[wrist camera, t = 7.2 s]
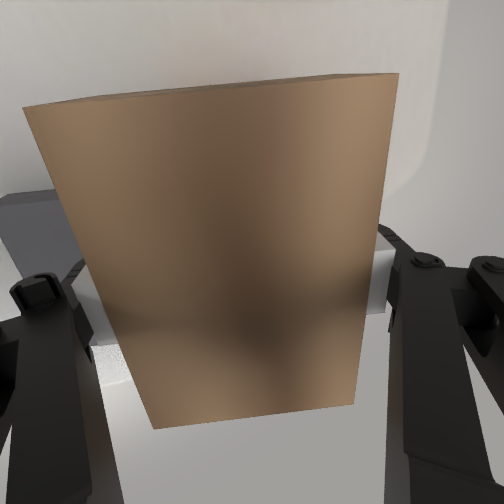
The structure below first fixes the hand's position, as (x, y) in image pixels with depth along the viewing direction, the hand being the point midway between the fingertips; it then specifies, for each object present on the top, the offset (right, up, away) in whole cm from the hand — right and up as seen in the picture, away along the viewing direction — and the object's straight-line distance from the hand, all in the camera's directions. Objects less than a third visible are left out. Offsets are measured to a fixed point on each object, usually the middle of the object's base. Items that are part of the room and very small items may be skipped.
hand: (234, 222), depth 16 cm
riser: (-15, -3, +13) cm, 21 cm away
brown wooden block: (0, -1, -1) cm, 2 cm away
